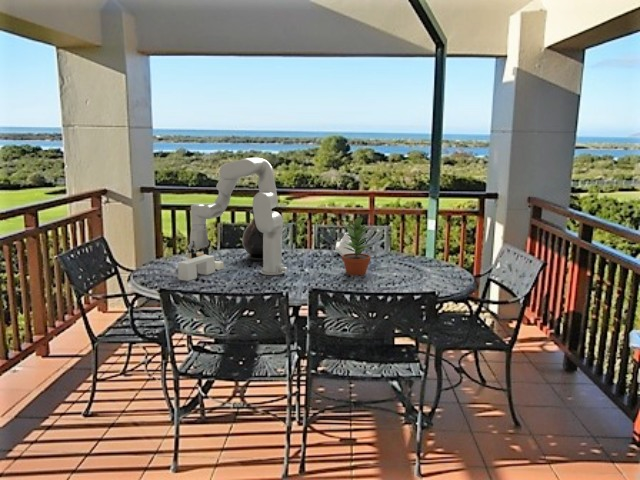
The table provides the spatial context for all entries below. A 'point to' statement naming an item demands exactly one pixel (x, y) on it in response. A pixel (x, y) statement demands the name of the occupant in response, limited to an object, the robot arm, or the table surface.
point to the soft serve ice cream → (344, 245)
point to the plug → (218, 264)
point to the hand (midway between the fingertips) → (200, 258)
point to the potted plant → (356, 250)
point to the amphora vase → (253, 241)
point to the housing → (189, 269)
